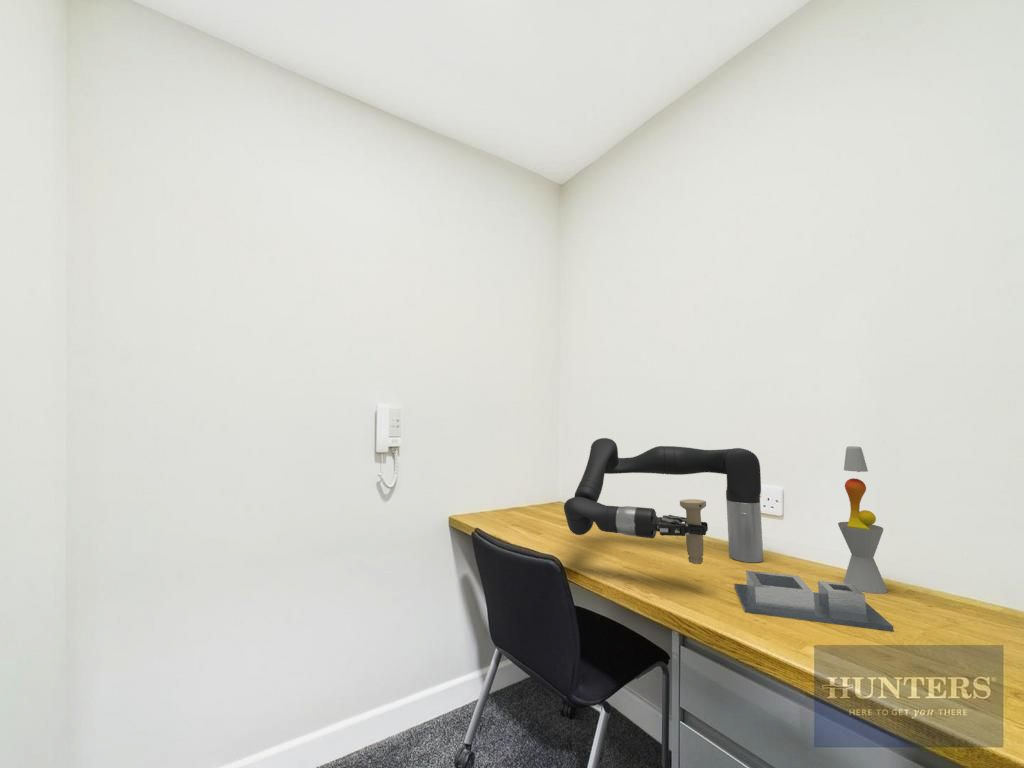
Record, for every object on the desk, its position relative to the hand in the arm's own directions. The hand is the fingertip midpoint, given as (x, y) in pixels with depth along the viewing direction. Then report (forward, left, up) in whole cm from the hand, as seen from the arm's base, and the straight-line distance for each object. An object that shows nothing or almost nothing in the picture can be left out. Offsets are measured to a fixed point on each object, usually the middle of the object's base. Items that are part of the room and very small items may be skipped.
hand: (706, 528), depth 105 cm
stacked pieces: (-17, +37, -15) cm, 44 cm away
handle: (0, -3, -9) cm, 9 cm away
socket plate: (+2, +19, -15) cm, 25 cm away
